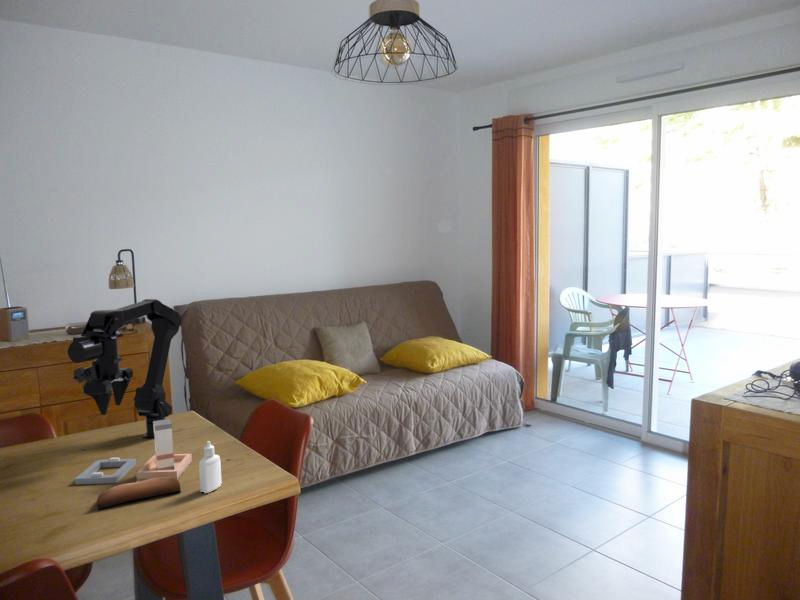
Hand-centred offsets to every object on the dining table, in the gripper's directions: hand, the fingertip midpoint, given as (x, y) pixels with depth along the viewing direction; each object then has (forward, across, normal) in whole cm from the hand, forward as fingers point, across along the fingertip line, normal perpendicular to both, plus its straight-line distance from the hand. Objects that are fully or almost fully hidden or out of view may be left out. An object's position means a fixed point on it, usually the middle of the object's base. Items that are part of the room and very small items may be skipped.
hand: (111, 409), depth 165 cm
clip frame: (+13, +14, +4) cm, 20 cm away
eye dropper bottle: (+13, +26, +34) cm, 45 cm away
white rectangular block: (+12, +14, +19) cm, 27 cm away
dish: (+13, +14, +19) cm, 27 cm away
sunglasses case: (+14, +28, +18) cm, 36 cm away
